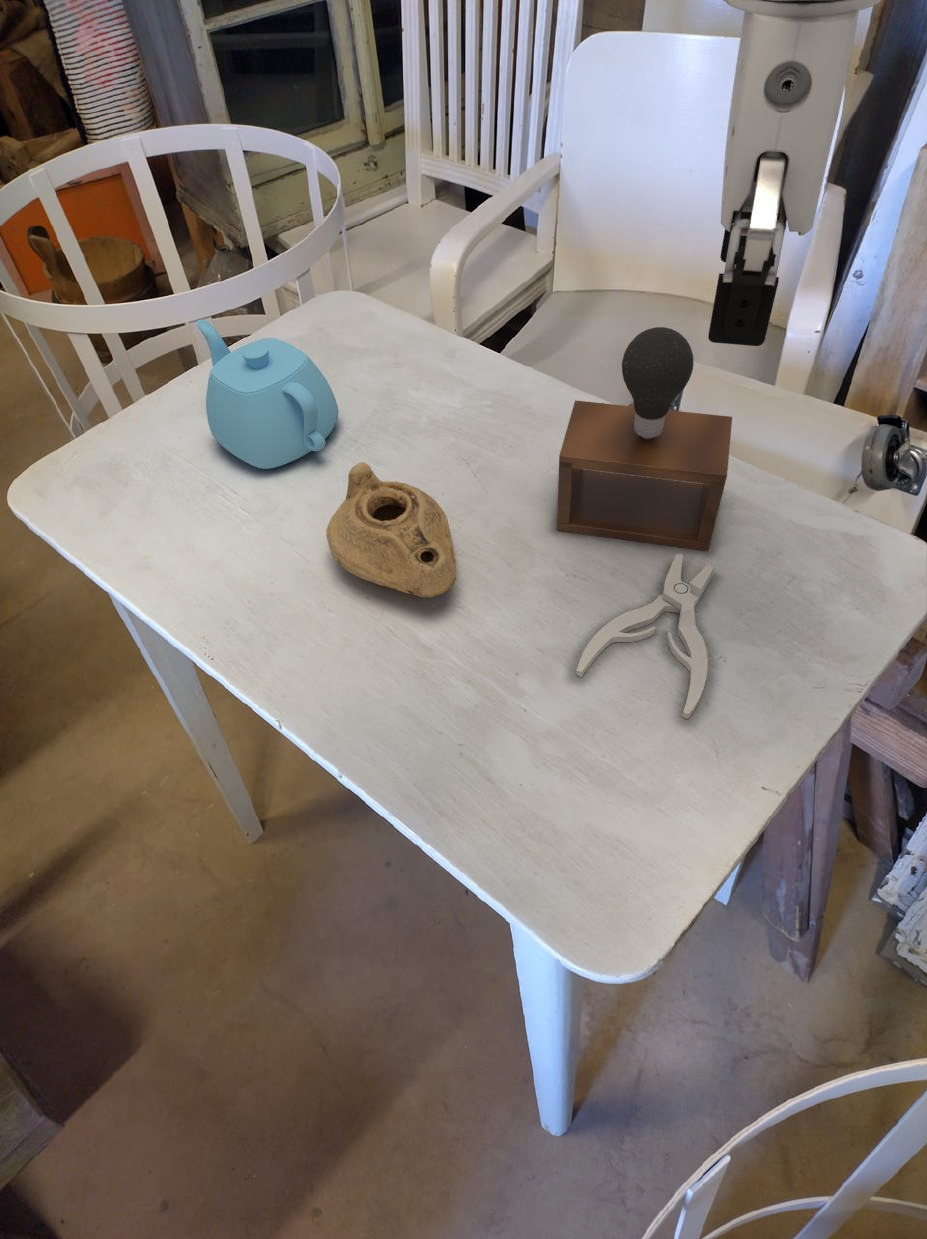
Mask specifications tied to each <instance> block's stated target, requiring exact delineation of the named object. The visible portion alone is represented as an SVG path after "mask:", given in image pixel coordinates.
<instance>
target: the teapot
mask: <svg viewBox="0 0 927 1239" xmlns="http://www.w3.org/2000/svg"><path fill="white" fill-rule="evenodd" d="M196 324H197V327H198V329H199V330H200V332H201V333H202V335H203V336H204V339H205V340H206V343H207V346H208V349H209V353H210V357H211V363H212V364H211V365H212V367H211V369H210V372H209V374H208V380H207V386H206V387H207V388H206V395H205V396H206V398H205V406H206V418H207V424H208V427H209V430H210V433H211V435H212V436H213V438H214V439H215V440H216V441H217V442H218V443H219V445H220V446H222V447H223V448H224V449H225V450H227V451H228V452H229V453H230V454H232V455H233V456H235V457H236V458H238V459H240V460H241V461H243V462H244V463H247V464H248V465H250V466H252V467H255V468H258V469H263V470H264V469H267V470H269V469H274V468H279V467H281V466H284V465H286V464H289V463H292V462H293V461H294V462H295V461H296V460H298V459H300V458H302V457H304V456H305V455H307V454H309V453H310V452H312V451H313V452H319V451H322V450H323V449H324V448H325V447H326V444H327V443H326V440H325V439H326V438H327V437H328V436H330V434H331V432H332V431H333V429H334V428H335V425H336V423H337V420H338V417H339V407H338V403H337V399H336V397H335V394H334V391H333V390H332V387H331V386H330V384H329V382H328V380H327V379H326V377H325V375H324V374H323V373H322V372H321V370H320V369H319V368H318V366H317V365H316V364H315V363H314V362H313V361H312V359H311V358H310V357H309V356H308V355H307V353H305V352H304V351H302V350H301V349H299V348H298V347H296V346H295V345H292V344H290V343H288V342H286V341H285V340H282V339H279V338H276V337H265V338H260V339H257V340H253V341H251V342H249V343H247V344H244V345H241V346H240V347H238V348H236V349H234V350H233V351H231V349H229V347H228V345H227V344H226V343H225V341H224V339H223V338H222V336H221V335H220V334H219V332H218V331H217V329H216V328H215V327H214V326H213V324H212V323H210V322H209V321H207V320H205V319H198V320H197V321H196Z"/></svg>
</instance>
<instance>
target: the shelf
mask: <svg viewBox="0 0 927 1239" xmlns="http://www.w3.org/2000/svg"><path fill="white" fill-rule="evenodd" d="M635 415H636V412H635V409H634V405H623V404H613V403H605V402H595V401H594V402H593V401H584V400H574V403H573V406H572V410H571V412H570V417H569V421H568V425H567V428H566V431H565V433H564V438H563V441H562V446H561V448H560V452H559V455H558V456H559V457H558V459H559V460H558V478H557V479H558V480H557V504H556V508H557V509H556V530H555V531H558V532H567V533H574V534H581V535H589V536H595V537H602V538H608V539H609V538H610V539H615V540H616V539H617V540H624V541H631V542H638V543H646V544H654V545H661V546H668V547H676V548H683V549H689V550H696V551H704V552H709V550H710V546H711V542H712V539H713V534H714V530H715V526H716V522H717V519H718V515H719V514H718V513H719V511H720V505H721V502H722V498H723V493H724V490H725V485H726V482H727V478H728V472H729V460H730V447H731V436H732V426H733V425H732V424H733V416H727V415H720V414H712V413H711V414H709V413H701V412H690V411H682V410H670V409H669V410H668V412H667V413H666V415H665V421H664V427H663V429H662V432H661V434H660V435H658V436H656V437H652V438H651V439H645V438H643V437H642V436H640V435H638V434H637V433H636V432H635V429H634V428H635V427H634V423H635V422H634V421H635Z"/></svg>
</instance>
